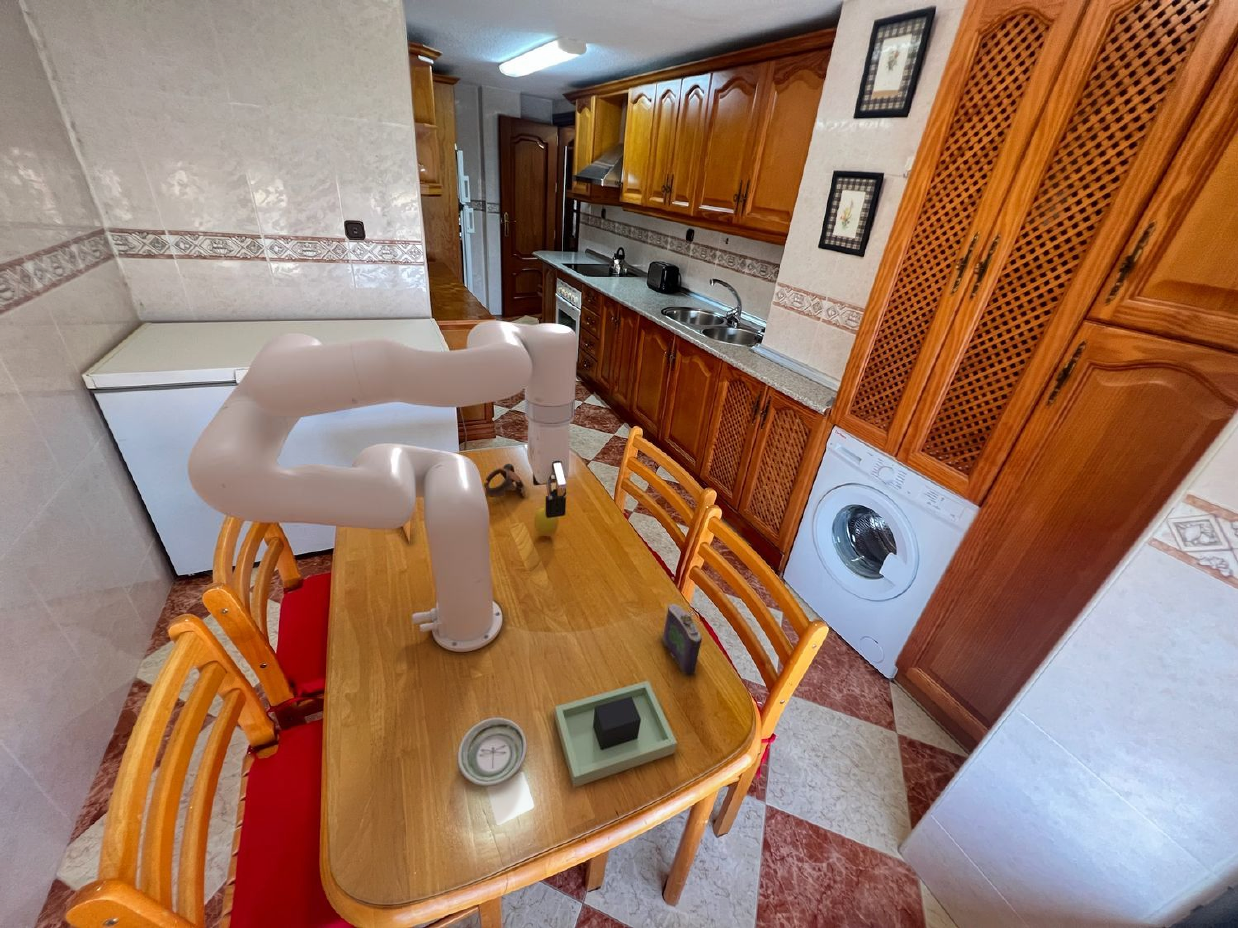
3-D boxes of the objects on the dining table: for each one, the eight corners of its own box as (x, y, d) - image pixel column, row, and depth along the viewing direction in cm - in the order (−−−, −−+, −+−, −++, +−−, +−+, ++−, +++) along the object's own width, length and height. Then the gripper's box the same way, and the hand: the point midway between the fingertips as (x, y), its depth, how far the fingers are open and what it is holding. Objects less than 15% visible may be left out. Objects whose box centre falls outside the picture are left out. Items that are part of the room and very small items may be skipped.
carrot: (396, 497, 126) (386, 486, 123) (412, 489, 126) (403, 478, 123) (405, 553, 112) (394, 541, 108) (424, 543, 112) (413, 532, 109)
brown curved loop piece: (527, 505, 127) (511, 486, 122) (495, 515, 129) (478, 497, 124) (529, 471, 136) (514, 451, 130) (499, 481, 138) (482, 462, 132)
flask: (659, 638, 94) (667, 597, 88) (672, 633, 95) (680, 593, 90) (685, 678, 87) (695, 636, 81) (699, 672, 88) (710, 631, 83)
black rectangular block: (600, 750, 74) (603, 731, 71) (592, 725, 77) (594, 706, 75) (637, 738, 76) (641, 719, 74) (628, 715, 79) (631, 695, 77)
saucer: (464, 805, 67) (463, 795, 66) (454, 739, 74) (453, 729, 73) (534, 778, 71) (534, 768, 69) (518, 717, 78) (517, 708, 77)
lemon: (553, 545, 114) (554, 517, 110) (530, 540, 115) (530, 512, 111) (560, 530, 119) (561, 503, 115) (538, 526, 120) (539, 499, 116)
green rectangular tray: (573, 787, 70) (574, 777, 69) (554, 717, 79) (554, 706, 77) (674, 753, 75) (677, 742, 74) (646, 690, 84) (648, 680, 83)
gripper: (515, 387, 81) (517, 475, 90) (537, 435, 68) (537, 533, 76) (559, 385, 84) (557, 470, 93) (590, 431, 70) (584, 526, 79)
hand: (548, 499), depth 85 cm, fingers open, 9 cm apart
